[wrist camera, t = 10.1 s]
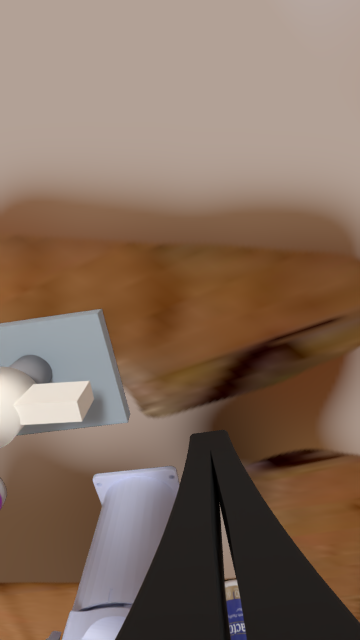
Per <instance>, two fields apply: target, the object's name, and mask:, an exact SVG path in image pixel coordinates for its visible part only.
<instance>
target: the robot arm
mask: <svg viewBox="0 0 360 640" xmlns="http://www.w3.org/2000/svg"><path fill="white" fill-rule="evenodd" d="M93 483H94V486H95V488H96V491H97V493H98V496H99V499H100V501H101V504H102V509H101V512H100V516H99V519H98V523H97V526H96V530H95V533H94V536H93V540H92V543H91V547H90V550H89V554H88V557H87V561H86V564H85V567H84V571H83V574H82V578H81V581H80V585H79V588H78V592H77V595H76V598H75V602H74V605H73V609H72V611H70V613H69V617H68V620H67V624H66V627H65V630H64V634H63V637H62V640H231V635H230V627H229V619H228V611H227V603H226V592H225V580H224V565H223V550H222V535H221V520H220V519H221V518H220V507H221V511H222V516H223V520H224V525H225V529H226V534H227V538H228V543H229V547H230V552H231V557H232V561H233V566H234V570H235V575H236V579H237V584H238V589H239V594H240V600H241V606H242V612H243V619H244V625H245V631H246V637H247V640H360V623H359V622H358V620H357V619H356V618H355V617H354V616H353V614H352V613H351V612H350V611H349V610H348V608H347V607H346V606H345V605H344V604H343V603H342V601H341V600H340V599H339V598H338V597H337V595H336V594H335V593H334V592H333V591H332V589H331V588H330V587H329V586H328V585H327V583H326V582H325V581H324V580H323V579H322V577H321V576H320V575H319V574H318V573H317V571H316V570H315V569H314V567H313V566H312V565H311V564H310V562H309V561H308V560H307V559H306V557H305V556H304V555H303V553H302V552H301V551H300V550H299V548H298V547H297V546H296V544H295V543H294V542H293V540H292V539H291V538H290V536H289V535H288V534H287V532H286V531H285V529H284V528H283V527H282V525H281V524H280V523H279V521H278V520H277V518H276V517H275V515H274V514H273V512H272V511H271V510H270V508H269V507H268V505H267V504H266V502H265V501H264V499H263V498H262V496H261V494H260V493H259V491H258V490H257V488H256V487H255V485H254V483H253V482H252V480H251V478H250V477H249V475H248V473H247V472H246V470H245V468H244V466H243V465H242V463H241V461H240V459H239V457H238V455H237V453H236V451H235V449H234V447H233V445H232V443H231V440H230V438H229V435H228V433H227V431H225V430H219V431H211V432H204V433H196V434H192V435H191V436H190V442H189V449H188V454H187V459H186V463H185V467H184V471H183V475H182V478H181V482H180V484H179V480H178V475H177V470H176V468H175V467H174V466H165V467H156V468H147V469H137V470H128V471H118V472H109V473H100V474H96V475H94V477H93ZM219 502H220V503H219ZM60 636H61V632H58V631H53V632H52V633H51V634H50V636H49V638H47V639H46V640H59V639H60Z"/></svg>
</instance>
